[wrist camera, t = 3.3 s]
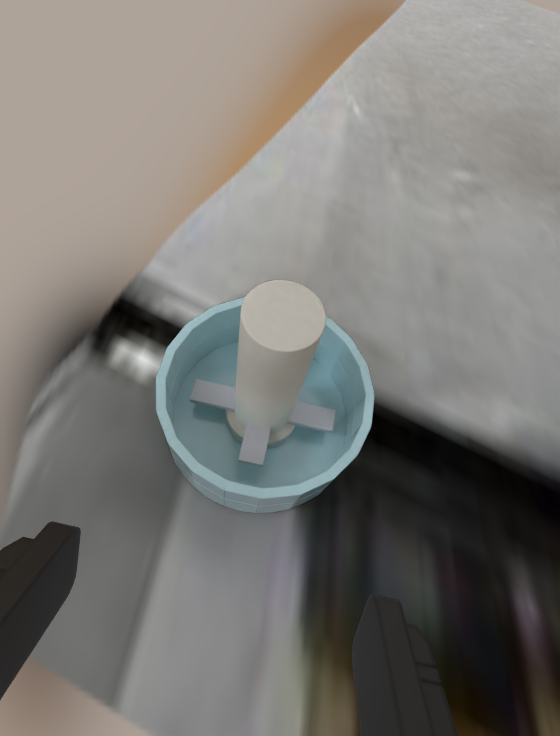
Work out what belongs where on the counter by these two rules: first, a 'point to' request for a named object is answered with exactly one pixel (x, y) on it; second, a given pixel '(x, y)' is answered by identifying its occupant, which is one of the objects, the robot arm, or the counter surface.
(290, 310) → the blade
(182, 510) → the counter surface
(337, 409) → the processor bowl
